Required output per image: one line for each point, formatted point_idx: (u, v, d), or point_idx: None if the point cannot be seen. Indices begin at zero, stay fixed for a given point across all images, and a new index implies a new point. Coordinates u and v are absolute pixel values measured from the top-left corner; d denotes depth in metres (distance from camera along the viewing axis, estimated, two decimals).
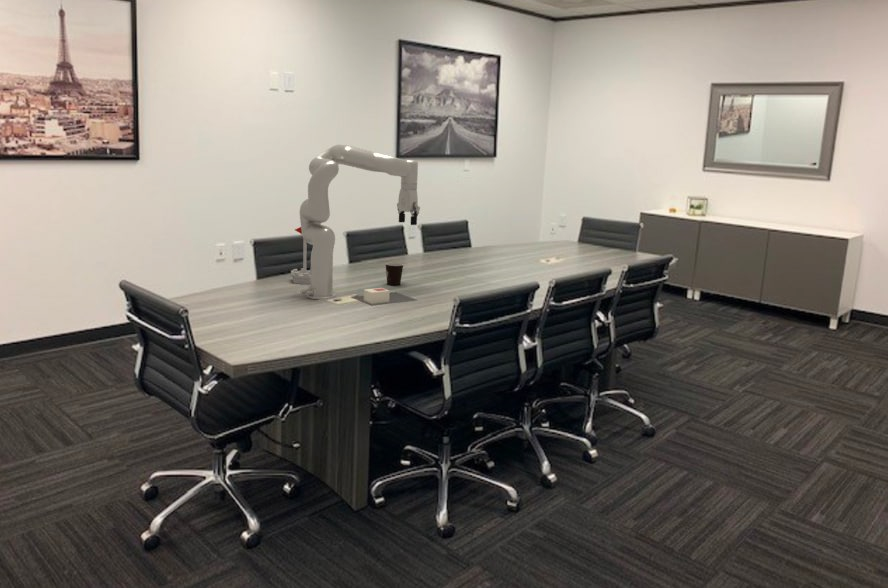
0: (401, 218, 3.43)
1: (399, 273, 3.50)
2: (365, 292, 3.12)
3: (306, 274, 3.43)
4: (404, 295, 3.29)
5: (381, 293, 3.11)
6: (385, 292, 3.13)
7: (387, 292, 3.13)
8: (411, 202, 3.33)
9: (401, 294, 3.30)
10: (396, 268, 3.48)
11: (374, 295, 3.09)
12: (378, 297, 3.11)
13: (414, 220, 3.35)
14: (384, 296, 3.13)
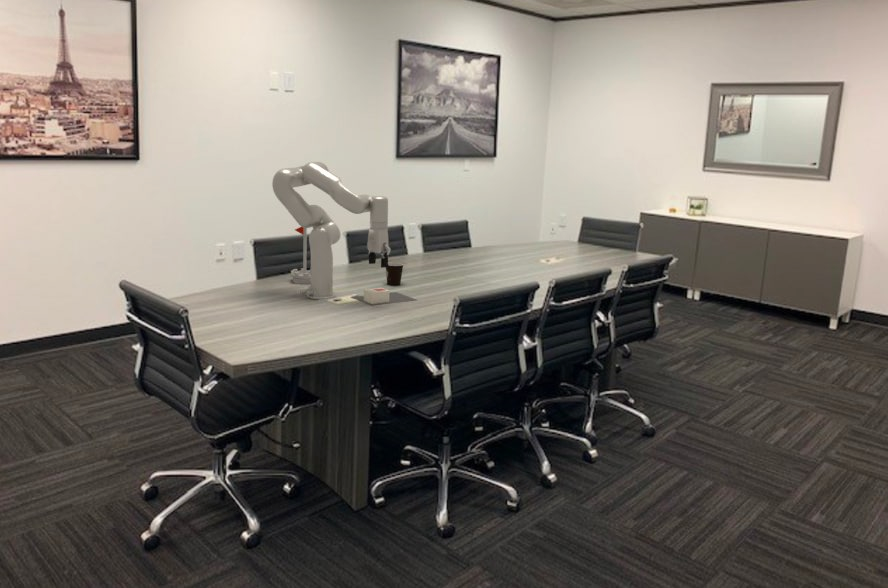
0: (371, 259, 3.14)
1: (399, 273, 3.50)
2: (365, 292, 3.12)
3: (306, 274, 3.43)
4: (404, 295, 3.29)
5: (381, 293, 3.11)
6: (385, 292, 3.13)
7: (387, 292, 3.13)
8: (381, 243, 3.04)
9: (401, 294, 3.30)
10: (396, 268, 3.48)
11: (374, 295, 3.09)
12: (378, 297, 3.11)
13: (385, 262, 3.06)
14: (384, 296, 3.13)
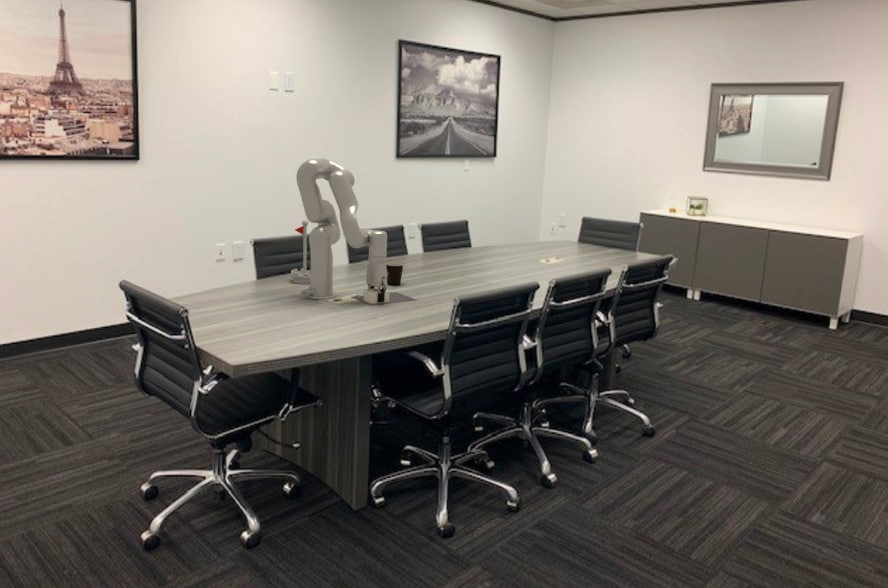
0: None
1: (399, 273, 3.50)
2: (365, 292, 3.12)
3: (306, 274, 3.43)
4: (404, 295, 3.29)
5: None
6: (385, 292, 3.13)
7: (387, 292, 3.13)
8: (379, 277, 3.07)
9: (401, 294, 3.30)
10: (396, 268, 3.48)
11: (374, 295, 3.09)
12: None
13: (381, 297, 3.10)
14: None
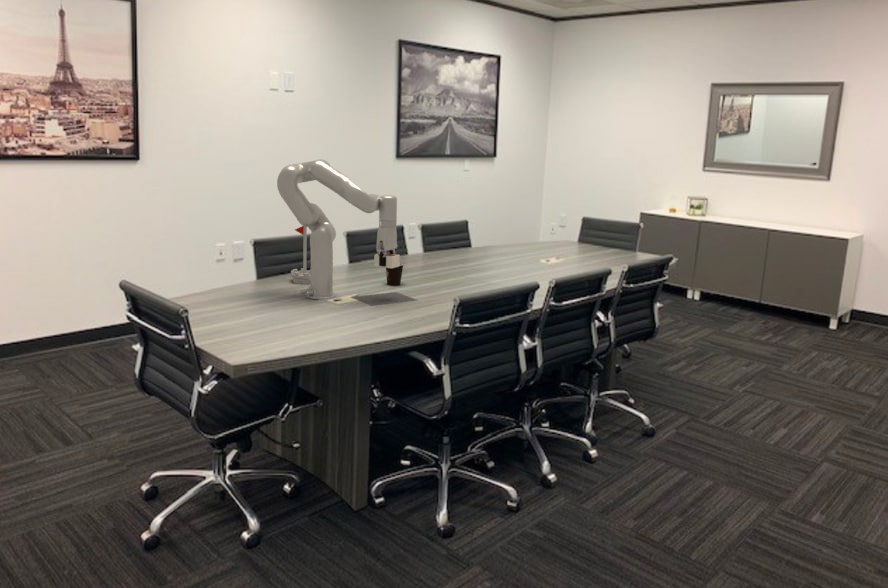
0: None
1: (399, 273, 3.50)
2: None
3: (306, 274, 3.43)
4: (404, 295, 3.29)
5: None
6: (387, 257, 3.13)
7: (390, 258, 3.12)
8: (377, 240, 3.11)
9: (401, 294, 3.30)
10: (396, 268, 3.48)
11: (376, 258, 3.15)
12: None
13: (380, 261, 3.13)
14: (387, 261, 3.13)
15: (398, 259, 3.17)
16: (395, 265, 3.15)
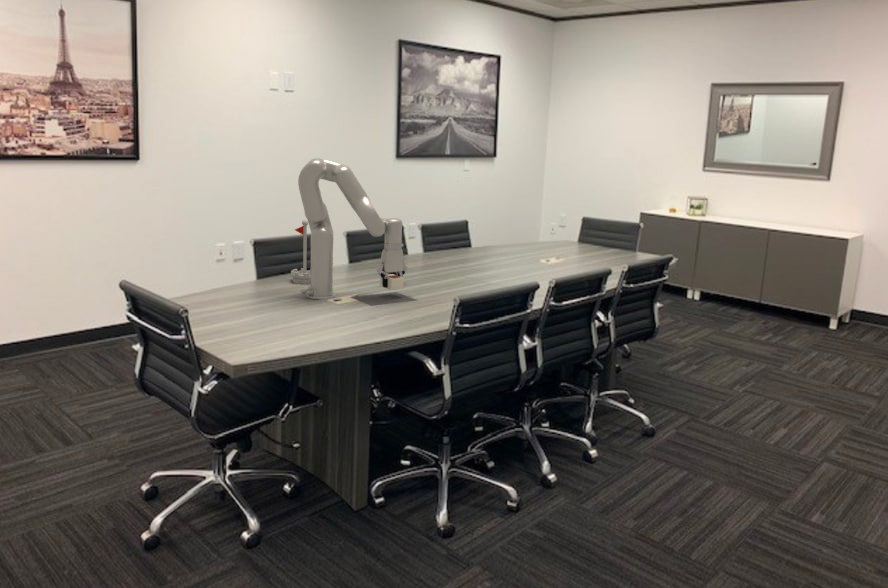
0: None
1: None
2: None
3: (306, 274, 3.43)
4: (404, 295, 3.29)
5: None
6: (389, 279, 3.19)
7: (390, 280, 3.19)
8: (381, 261, 3.20)
9: (401, 294, 3.30)
10: None
11: None
12: None
13: (383, 282, 3.21)
14: (388, 283, 3.20)
15: (401, 282, 3.21)
16: (397, 287, 3.20)
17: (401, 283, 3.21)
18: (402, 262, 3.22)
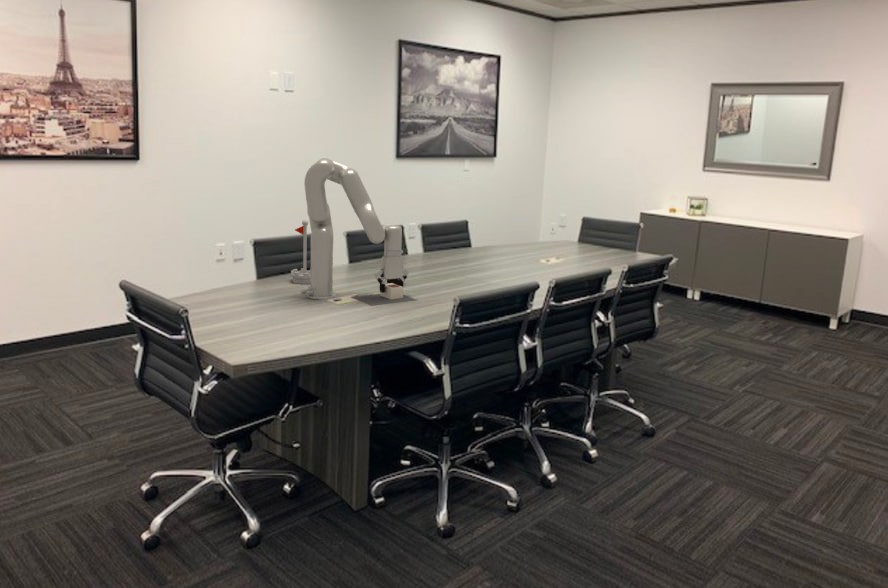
0: (399, 285, 3.27)
1: None
2: None
3: (306, 274, 3.43)
4: (404, 295, 3.29)
5: (385, 288, 3.22)
6: (388, 288, 3.20)
7: (389, 289, 3.19)
8: (380, 268, 3.21)
9: None
10: None
11: None
12: None
13: (380, 287, 3.21)
14: (387, 292, 3.21)
15: (401, 291, 3.22)
16: (396, 296, 3.21)
17: (400, 292, 3.22)
18: (402, 269, 3.23)
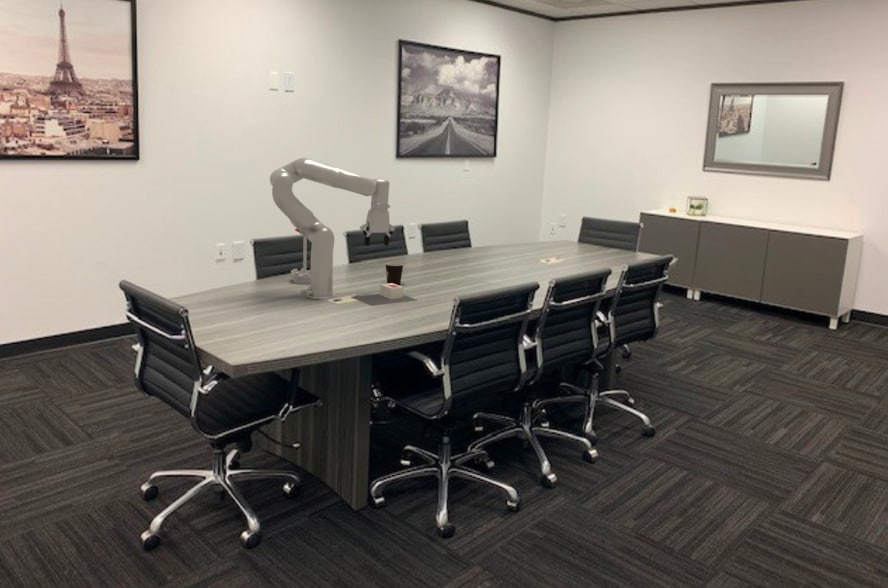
0: (384, 241, 3.27)
1: (399, 273, 3.50)
2: None
3: (306, 274, 3.43)
4: (404, 295, 3.29)
5: (385, 288, 3.22)
6: (388, 288, 3.20)
7: (389, 289, 3.19)
8: (366, 221, 3.21)
9: None
10: (396, 268, 3.48)
11: (381, 287, 3.25)
12: (384, 291, 3.23)
13: (365, 240, 3.21)
14: (387, 292, 3.21)
15: (401, 291, 3.22)
16: (396, 296, 3.21)
17: (400, 292, 3.22)
18: (388, 223, 3.23)
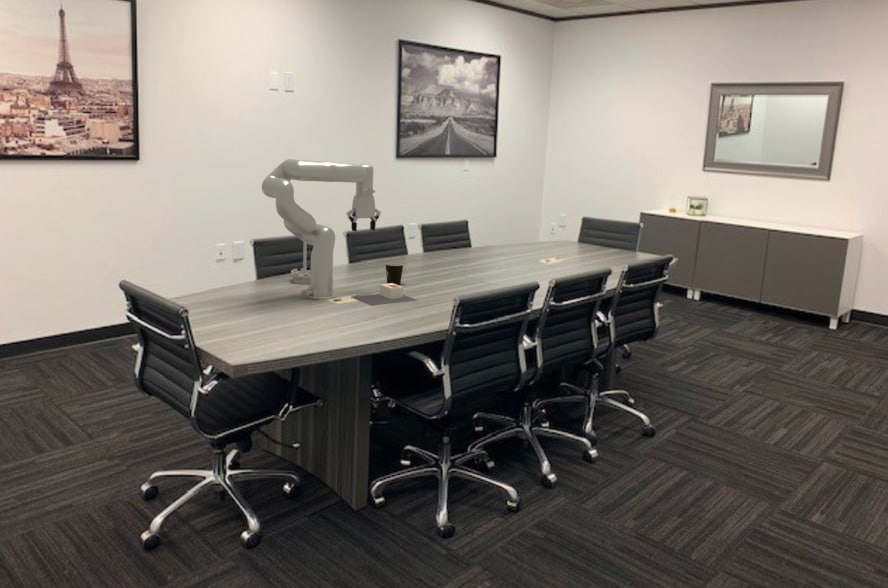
0: (371, 225, 3.32)
1: (399, 273, 3.50)
2: None
3: (306, 274, 3.43)
4: (404, 295, 3.29)
5: (385, 288, 3.22)
6: (388, 288, 3.20)
7: (389, 289, 3.19)
8: (352, 207, 3.25)
9: None
10: (396, 268, 3.48)
11: (381, 287, 3.25)
12: (384, 291, 3.23)
13: (352, 226, 3.25)
14: (387, 292, 3.21)
15: (401, 291, 3.22)
16: (396, 296, 3.21)
17: (400, 292, 3.22)
18: (373, 208, 3.27)
